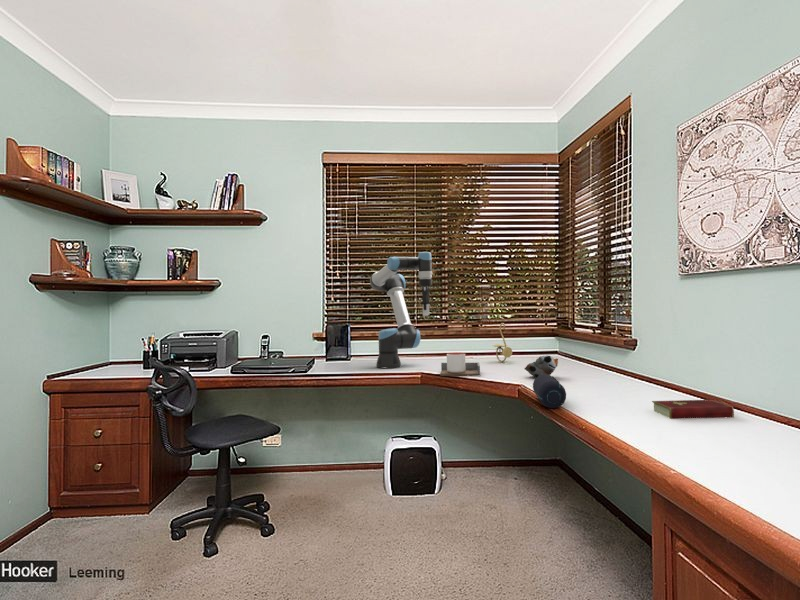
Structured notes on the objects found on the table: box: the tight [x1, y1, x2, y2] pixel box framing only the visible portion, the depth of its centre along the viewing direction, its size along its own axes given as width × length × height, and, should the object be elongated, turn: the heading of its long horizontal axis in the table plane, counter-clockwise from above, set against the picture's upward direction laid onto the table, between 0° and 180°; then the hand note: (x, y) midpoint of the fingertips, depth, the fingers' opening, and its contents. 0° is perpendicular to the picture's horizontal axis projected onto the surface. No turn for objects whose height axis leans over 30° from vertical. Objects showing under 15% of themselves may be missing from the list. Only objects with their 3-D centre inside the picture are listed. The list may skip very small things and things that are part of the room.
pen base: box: [439, 370, 481, 377], centre depth 275 cm, size 15×21×1 cm
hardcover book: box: [651, 399, 735, 420], centre depth 172 cm, size 12×21×4 cm, turn 90°
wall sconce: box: [492, 322, 513, 363], centre depth 321 cm, size 14×10×25 cm
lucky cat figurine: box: [524, 355, 559, 378], centre depth 258 cm, size 15×12×14 cm
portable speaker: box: [532, 374, 567, 409], centre depth 195 cm, size 25×10×10 cm, turn 172°
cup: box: [446, 352, 466, 373], centre depth 274 cm, size 10×10×10 cm
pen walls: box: [440, 362, 481, 375], centre depth 275 cm, size 15×21×4 cm
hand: (426, 315), depth 292 cm, fingers open, 13 cm apart
